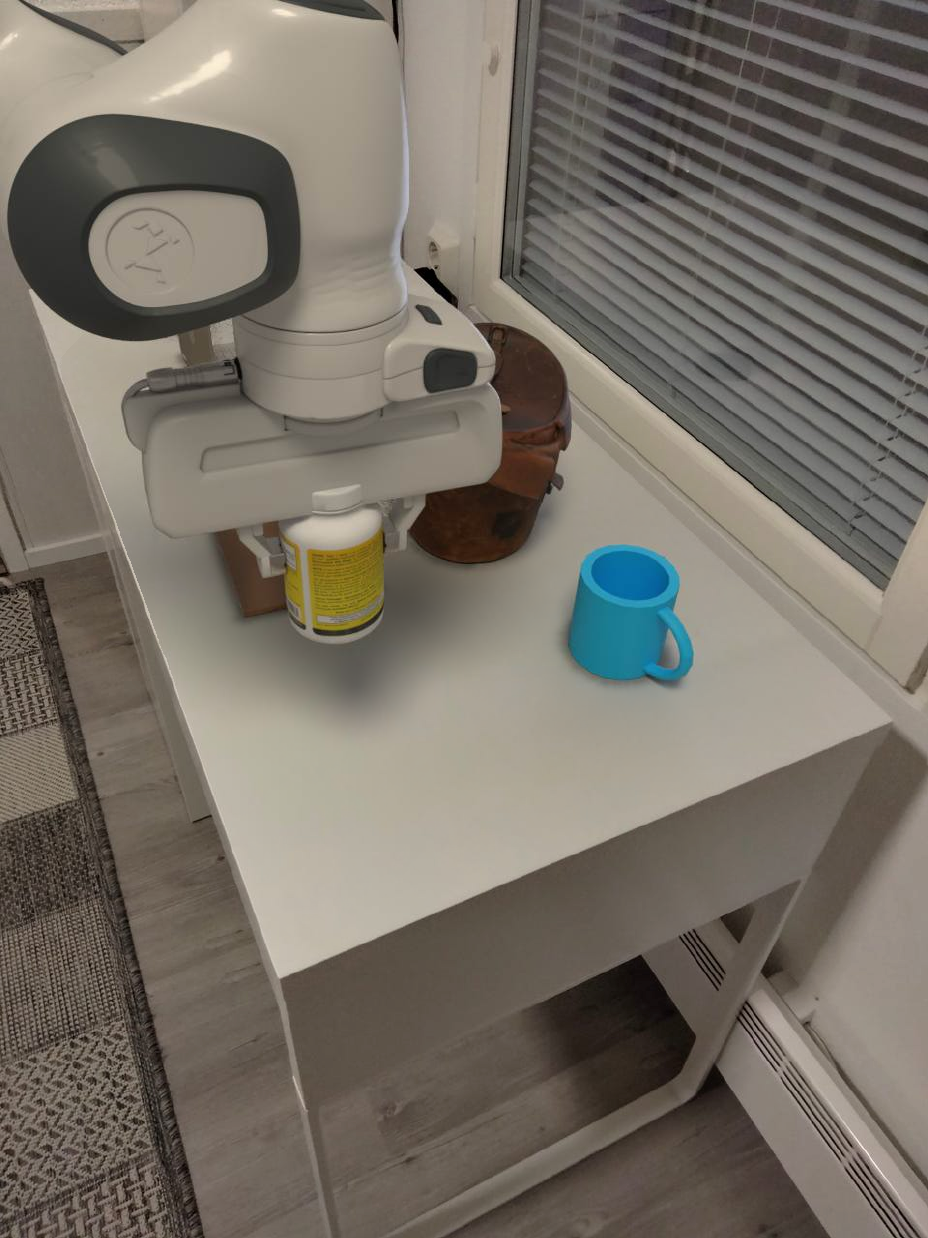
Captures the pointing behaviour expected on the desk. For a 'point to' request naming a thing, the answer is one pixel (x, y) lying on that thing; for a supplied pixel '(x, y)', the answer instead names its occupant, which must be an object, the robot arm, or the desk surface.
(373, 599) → the pill bottle
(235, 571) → the brown wooden coaster
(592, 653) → the mug
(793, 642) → the desk surface
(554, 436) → the case
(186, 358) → the laptop
